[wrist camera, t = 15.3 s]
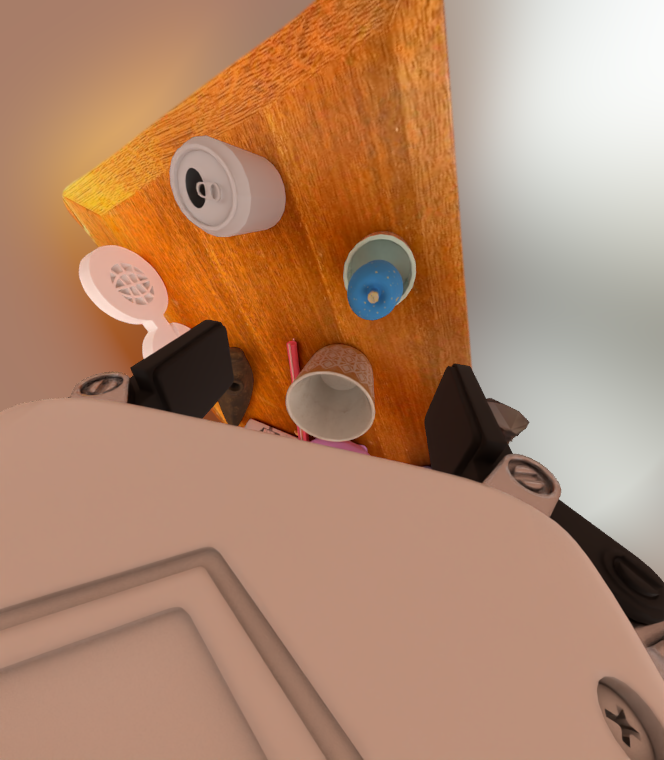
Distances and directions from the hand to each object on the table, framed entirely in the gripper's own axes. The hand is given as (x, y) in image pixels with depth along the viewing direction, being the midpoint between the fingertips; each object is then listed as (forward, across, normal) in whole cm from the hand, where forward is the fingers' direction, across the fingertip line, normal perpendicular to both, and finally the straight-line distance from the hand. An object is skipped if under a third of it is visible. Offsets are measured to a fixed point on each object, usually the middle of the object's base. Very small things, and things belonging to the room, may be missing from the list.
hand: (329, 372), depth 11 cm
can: (+28, +15, -5) cm, 32 cm away
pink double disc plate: (+28, +31, +13) cm, 44 cm away
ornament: (+28, -1, +1) cm, 28 cm away
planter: (+28, +2, +18) cm, 33 cm away
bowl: (+28, -1, +1) cm, 28 cm away
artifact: (+26, +17, +17) cm, 35 cm away
